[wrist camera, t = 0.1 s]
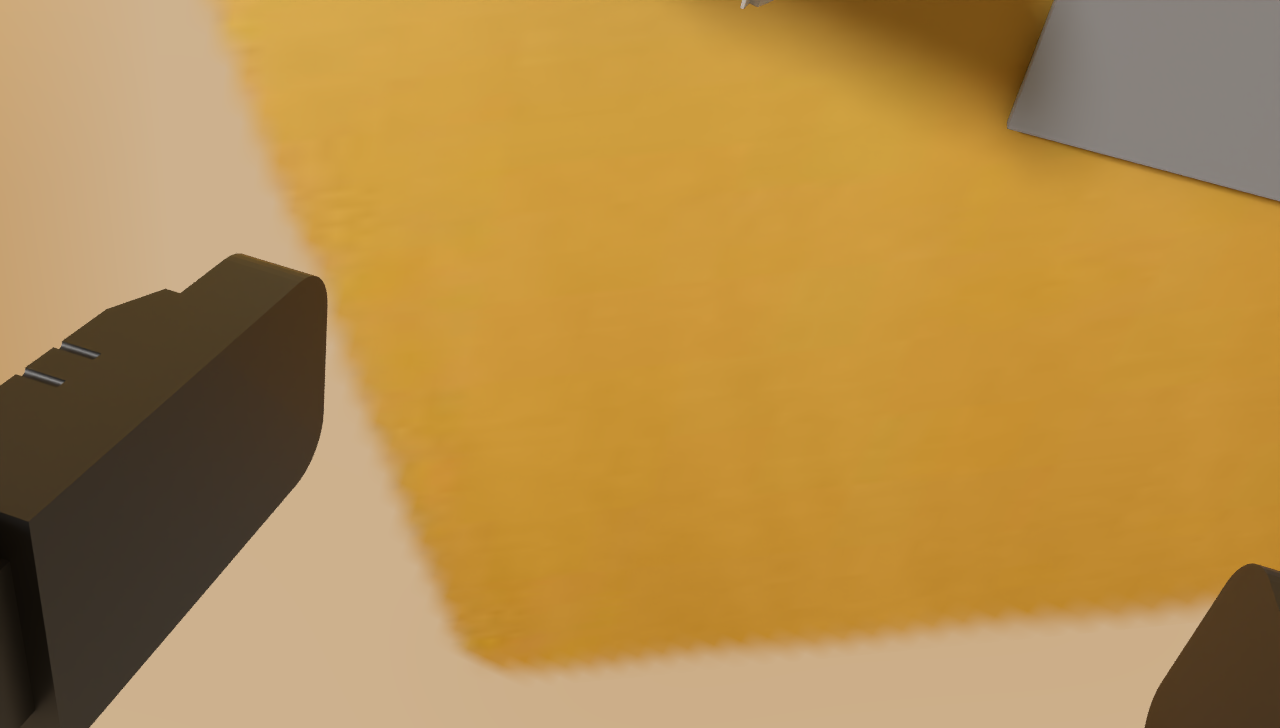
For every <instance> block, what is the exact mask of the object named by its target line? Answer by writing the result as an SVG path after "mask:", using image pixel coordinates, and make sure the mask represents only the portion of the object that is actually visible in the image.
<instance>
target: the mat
mask: <svg viewBox="0 0 1280 728" xmlns="http://www.w3.org/2000/svg"><path fill="white" fill-rule="evenodd" d="M1007 129H1011V130H1014V131H1018V132H1022V133H1026V134H1029V135H1033V136H1037V137H1041V138H1044V139H1048V140H1052V141H1056V142H1059V143H1063V144H1067V145H1071V146H1075V147H1078V148H1082V149H1086V150H1090V151H1093V152H1097V153H1101V154H1105V155H1108V156H1112V157H1116V158H1120V159H1123V160H1127V161H1131V162H1135V163H1138V164H1142V165H1146V166H1150V167H1153V168H1157V169H1161V170H1165V171H1168V172H1172V173H1176V174H1180V175H1183V176H1187V177H1191V178H1195V179H1198V180H1202V181H1206V182H1210V183H1213V184H1217V185H1221V186H1225V187H1228V188H1232V189H1236V190H1240V191H1243V192H1247V193H1251V194H1255V195H1258V196H1262V197H1266V198H1270V199H1273V200H1277V201H1280V0H1054V1H1053V4H1052V6H1051V9H1050V11H1049V14H1048V17H1047V19H1046V22H1045V25H1044V27H1043V30H1042V32H1041V35H1040V38H1039V40H1038V43H1037V45H1036V48H1035V51H1034V53H1033V56H1032V58H1031V61H1030V64H1029V66H1028V69H1027V71H1026V74H1025V77H1024V79H1023V82H1022V85H1021V87H1020V90H1019V92H1018V95H1017V98H1016V100H1015V103H1014V105H1013V108H1012V111H1011V113H1010V116H1009V118H1008V121H1007Z"/></svg>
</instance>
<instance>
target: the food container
mask: <svg viewBox="0 0 1280 728" xmlns="http://www.w3.org/2000/svg"><path fill="white" fill-rule="evenodd" d="M771 1H773V0H742V3H741V7H740V8H742V9H744V8H745V7H746V6H747V5H748V4H749V3H750V4H752V5H754V6H756V7H759V6H762V5H764V4H766V3H769V2H771Z"/></svg>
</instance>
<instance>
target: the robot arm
mask: <svg viewBox="0 0 1280 728" xmlns="http://www.w3.org/2000/svg"><path fill="white" fill-rule="evenodd" d="M326 331H327V292H326V288H325V285H324V283H323V281H322V280H321V279H320V278H319V277H317V276H314V275H310V274H307V273H304V272H300V271H297V270H294V269H290V268H287V267H284V266H280V265H277V264H274V263H270V262H267V261H264V260H261V259H257V258H254V257H251V256H247V255H244V254H234V255H231V256H229V257H228V258H226V259H225V260H223V261H222V262H221V263H219V264H218V265H217V266H215V267H214V268H213V269H211V270H210V271H209V272H208V273H206V274H205V275H204V276H202V277H201V278H200V279H198V280H197V281H196V282H194V283H193V284H192V285H191V286H189V287H188V288H187V289H185V290H184V291H183V292H181V293H177V292H174V291H171V290H167V289H164V290H161V291H158V292H155V293H152V294H149V295H146V296H144V297H141V298H138V299H135V300H132V301H129V302H126V303H123V304H121V305H118V306H115V307H112V308H109V309H106V310H105V311H104V312H102V313H101V314H99V315H98V316H97V317H95V318H94V319H92V320H91V321H90V322H88V323H87V324H85V325H84V326H83V327H81V328H80V329H78V330H77V331H76V332H74V333H73V334H71V335H70V336H69V337H67V338H66V339H65V340H63V341H62V346H61V348H60V349H57V348H52V349H51V350H49V351H48V352H46V353H45V354H44V355H42V356H41V357H40V358H38V359H37V360H35V361H34V362H33V363H31V364H30V365H28V366H27V367H26V369H25V373H24V374H23V376H19V375H14V376H13V377H12V378H10V379H9V380H7V381H6V382H5V383H3V384H2V385H0V728H89V727H90V726H91V725H92V724H93V723H94V722H95V720H96V719H97V718H98V717H99V715H100V714H101V713H102V712H103V711H104V710H105V709H106V707H107V706H108V705H109V704H110V703H111V702H112V700H113V699H114V698H115V697H116V696H117V694H118V693H119V692H120V691H121V690H122V689H123V687H124V686H125V685H126V684H127V683H128V682H129V680H130V679H131V678H132V677H133V676H134V675H135V673H136V672H137V671H138V670H139V669H140V668H141V666H142V665H143V664H144V663H145V662H146V661H147V659H148V658H149V657H150V656H151V655H152V653H153V652H154V651H155V650H156V649H157V648H158V646H159V645H160V644H161V643H162V642H163V641H164V639H165V638H166V637H167V636H168V634H169V633H170V632H171V631H172V630H173V629H174V628H175V626H176V625H177V624H178V623H179V622H180V621H181V619H182V618H183V617H184V616H185V615H186V613H187V612H188V611H189V610H190V609H191V608H192V606H193V605H194V604H195V603H196V602H197V601H198V600H199V598H200V597H201V596H202V595H203V594H204V592H205V591H206V590H207V589H208V588H209V586H210V585H211V584H212V583H213V582H214V581H215V580H216V578H217V577H218V576H219V575H220V574H221V572H222V571H223V570H224V569H225V568H226V567H227V566H228V564H229V563H230V562H231V561H232V560H233V558H234V557H235V556H236V555H237V554H238V552H239V551H240V550H241V549H242V548H243V547H244V546H245V544H246V543H247V542H248V541H249V540H250V539H251V537H252V536H253V535H254V534H255V533H256V531H257V530H258V529H259V528H260V527H261V526H262V524H263V523H264V522H265V521H266V520H267V519H268V517H269V516H270V515H271V514H272V513H273V512H274V510H275V509H276V508H277V507H278V506H279V505H280V503H281V502H282V501H283V500H284V498H285V497H286V496H287V495H288V494H289V493H290V492H291V490H292V489H293V488H294V487H295V486H296V485H297V483H298V482H299V481H300V479H301V477H302V476H303V475H304V473H305V471H306V469H307V468H308V466H309V464H310V462H311V460H312V457H313V455H314V452H315V450H316V447H317V444H318V441H319V438H320V433H321V429H322V423H323V414H324V386H325V384H324V383H325V358H326V357H325V356H326ZM1145 728H1280V571H1277V570H1274V569H1270V568H1267V567H1264V566H1261V565H1257V564H1247V565H1245V566H1243V567H1241V568H1240V569H1238V570H1237V571H1236V572H1235V573H1234V574H1233V575H1232V576H1231V578H1230V579H1229V580H1228V582H1227V583H1226V585H1225V586H1224V588H1223V589H1222V591H1221V592H1220V594H1219V595H1218V597H1217V598H1216V600H1215V601H1214V603H1213V604H1212V606H1211V608H1210V609H1209V611H1208V612H1207V614H1206V615H1205V617H1204V618H1203V620H1202V621H1201V623H1200V624H1199V626H1198V628H1197V629H1196V631H1195V632H1194V634H1193V635H1192V637H1191V638H1190V640H1189V641H1188V643H1187V644H1186V646H1185V647H1184V649H1183V651H1182V652H1181V653H1180V655H1179V657H1178V658H1177V660H1176V661H1175V663H1174V664H1173V666H1172V667H1171V669H1170V670H1169V672H1168V673H1167V675H1166V676H1165V678H1164V679H1163V681H1162V683H1161V684H1160V686H1159V688H1158V689H1157V691H1156V694H1155V696H1154V698H1153V700H1152V703H1151V706H1150V709H1149V712H1148V716H1147V720H1146V724H1145Z"/></svg>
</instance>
